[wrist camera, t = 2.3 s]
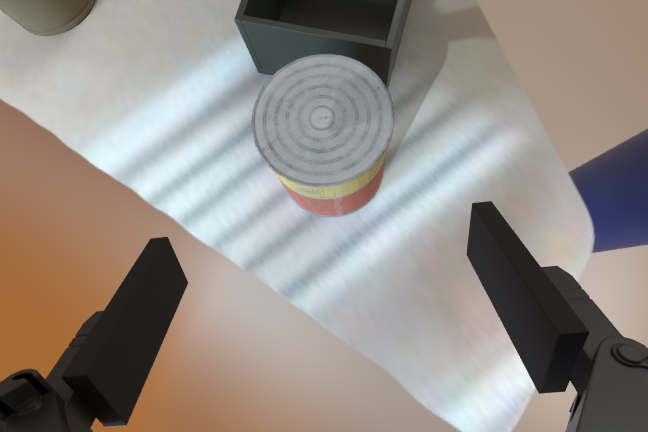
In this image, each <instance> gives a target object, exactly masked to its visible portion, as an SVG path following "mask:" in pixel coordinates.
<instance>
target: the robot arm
mask: <svg viewBox="0 0 648 432" xmlns="http://www.w3.org/2000/svg"><path fill="white" fill-rule="evenodd" d="M467 256H468V258H469V260H470V262H471V264H472V266H473V268H474V270H475V272H476V274H477V275H478V277H479V279H480V281H481V283H482V285H483V287H484V289H485V291H486V293H487V295H488V297H489V298H490V300H491V302H492V304H493V306H494V308H495V310H496V312H497V314H498V316H499V318H500V320H501V321H502V323H503V325H504V327H505V329H506V331H507V333H508V335H509V337H510V339H511V341H512V343H513V345H514V346H515V348H516V350H517V352H518V354H519V356H520V358H521V360H522V362H523V364H524V366H525V368H526V369H527V371H528V373H529V375H530V377H531V379H532V381H533V383H534V385H535V387H536V389H537V391H538V392H539V393H551V392H565V390H566V388H567V385H568V383H569V381H571V383H572V384H573V386H574V387H575V389H576V391H577V392H578V393H577V395H576V397H575V400H574V402H573V404H572V407H571V409H570V411H569V412H571V415H570V419H569V422H568V425H567V429H566V432H648V348H647V347H645V346H644V345H642V344H641V343H639V342H637V341H634V340H632V339H629V338H625V337H623V336H622V335H621V334H620V333H619V332H618V331H617V329H616V328H615V327H614V326H613V324H612V323H611V322H610V321H609V320H608V318H607V317H606V316H605V315H604V314H603V312H602V311H601V310H600V309H599V308H598V306H597V305H596V304H595V303H594V302H593V300H592V299H590V298H589V296H588V295H587V293H586V292H585V291H584V290H582V289H581V286H580V285H579V284H578V282H577V281H576V280H575V279H574V278H573V276H572V275H570V274H569V273H567V272H566V271H564V270H563V269H561V268H559V267H558V266H550V267H540V265H539V264H538V263H537V262H536V260H535V259H534V258H533V256H532V255H531V254H530V252H529V251H528V250H527V248H526V247H525V246H524V244H523V243H522V242H521V240H520V239H519V238H518V236H517V235H516V234H515V232H514V231H513V230H512V228H511V227H510V226H509V224H508V223H507V222H506V220H505V219H504V218H503V216H502V215H501V214H500V212H499V211H498V210H497V208H496V207H495V206H494V204H493V203H492V202H491V201H489V202H480V203H472V211H471V220H470V228H469V237H468V246H467ZM187 284H188V281H187V279H186V277H185V274H184V272H183V270H182V268H181V266H180V264H179V261H178V259H177V257H176V255H175V252H174V250H173V248H172V246H171V244H170V241H169V239H168V237H163V238H153V239H150V241H149V242H148V244H147V245H146V247H145V248H144V250H143V252H142V253H141V254H140V256H139V258H138V259H137V261H136V262H135V264H134V265H133V267H132V268H131V270H130V271H129V273H128V274H127V276H126V278H125V279H124V281H123V282H122V284H121V286H120V287H119V288H118V290H117V291H116V293H115V295H114V296H113V298H112V299H111V301H110V302H109V304H108V305H107V307H106V308H105V310H104V311H98V312H96V313H94V315H92V316H91V317H90V318H89V319H88V320H87V321H86V322H84V324H83V325H82V327H81V328H80V330H79V331H78V333H77V334H76V338H73V340H72V341H71V343H70V344H69V348H67V349H66V350H65V352H64V353H63V354H62V356H61V357H60V359H59V360H58V362H57V363H56V365H55V366H54V368H53V369H52V370H51V372H50V374H49V375H48V376H47V378H46V379H44V378H43V377H42V376H41V374H40V373H39V372H38V371H37V370H34V369H25V370H21V371H19V372H16V373H14V374H12V375H10V376H9V377H7V378H6V379H4V380H3V381H1V382H0V432H93V431H92V429H91V426H92V424H93V422H94V420H95V418H97V419H98V420H99V421H100V422H101V423H102V424H103V426H118V425H127V423H128V421H129V418H130V416H131V414H132V411H133V409H134V407H135V404H136V402H137V400H138V397H139V395H140V393H141V390H142V388H143V386H144V384H145V381H146V379H147V377H148V374H149V372H150V370H151V368H152V365H153V363H154V361H155V358H156V356H157V354H158V351H159V349H160V346H161V344H162V342H163V340H164V337H165V335H166V333H167V330H168V328H169V326H170V323H171V321H172V319H173V317H174V314H175V312H176V310H177V307H178V305H179V303H180V300H181V298H182V296H183V294H184V291H185V289H186V287H187Z"/></svg>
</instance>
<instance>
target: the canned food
mask: <svg viewBox="0 0 648 432" xmlns="http://www.w3.org/2000/svg"><path fill="white" fill-rule="evenodd" d="M393 127H394V108H393V103H392V99H391V96H390V94H389V92H388V90H387V88H386V86H385V84H384V83H383V81H382V80H381V79H380V78H379V76H378V75H377V74H376V73H375V72H374V71H372V70H371V69H370V68H369V67H367V66H366V65H364V64H362V63H361V62H359V61H357V60H354V59H352V58H349V57H346V56H341V55H335V54H317V55H311V56H306V57H303V58H300V59H298V60H295V61H293V62H291V63H289V64H287V65H286V66H284V67H282V68H281V69H280V70H278V71H277V72H276V73H275V74H274V75H273V76H272V77H271V78H270V79H269V80H268V81H267V82H266V84H265V85H264V86H263V88H262V90H261V91H260V93H259V95H258V97H257V100H256V102H255V105H254V109H253V114H252V132H253V138H254V141H255V144H256V147H257V149H258V151H259V153H260V155H261V156H262V158H263V159H264V161H265V162H266V163H267V165H268V166H269V167H270V168H271V169H272V170H273V171H274V173H275V174H276V176H277V177H278V178H279V180H280V181H281V183H282V184H283V185H284V187H285V188H286V190H287V192H288V194H289V195H290V197H291V198H292V199H293V200H294V201H295V202H296V203H297V204H298V205H299V206H300V207H301V208H303V209H304V210H306V211H308V212H310V213H313V214H315V215H319V216H324V217H339V216H344V215H347V214H350V213H353V212H355V211H357V210H359V209H360V208H362V207H363V206H364V205H366V204H367V203H368V202H369V201H370V200H371V199H372V198H373V196H374V195H375V193H376V192H377V190H378V188H379V186H380V184H381V181H382V177H383V170H384V163H385V159H386V154H387V150H388V145H389V142H390V139H391V136H392V132H393Z"/></svg>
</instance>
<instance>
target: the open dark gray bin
mask: <svg viewBox="0 0 648 432" xmlns="http://www.w3.org/2000/svg"><path fill="white" fill-rule="evenodd" d="M410 3H411V0H241V3H240V5H239V8H238V11H237V14H236V17H235V22H236V24H237V26H238V29H239V31H240V33H241V35H242V37H243V39H244V42H245V44H246V46H247V48H248V50H249V53H250V55H251V57H252V59H253V61H254V63H255V66H256V68H257V70H258V72H259V73H264V74H269V75H274V74H275V73H276V72H277V71H278V70H280V69H281V68H282V67H284V66H286V65H287V64H289V63H291V62H293V61H295V60H298V59H300V58H303V57H306V56H311V55H317V54H335V55H341V56H346V57H349V58H352V59H354V60H357V61H359V62H361V63H362V64H364V65H366V66H367V67H369V68H370V69H371V70H372V71H374V72H375V73H376V74H377V75H378V76H379V78H380V79H381V80H382V81H383V83H384V84H385V86H386V88H387V89H388V86H389V82H390V78H391V74H392V71H393V67H394V63H395V59H396V56H397V52H398V48H399V45H400V41H401V37H402V33H403V30H404V26H405V22H406V18H407V15H408V11H409V7H410Z"/></svg>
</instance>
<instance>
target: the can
mask: <svg viewBox="0 0 648 432" xmlns="http://www.w3.org/2000/svg"><path fill="white" fill-rule="evenodd" d="M94 2H95V0H0V10H1V11H3V12H4V13H5V14H7V15H8V16H9V17H10V18H12V19H13V20H14V21H16V22H17V23H19V24H20V25H21V26H22V27H23V28H24V29H26V30H27V31H29V32H31V33H34V34H37V35H43V36H50V35H56V34H60V33H63V32H66V31H68V30H70V29H72V28H73V27H75V26H76V25H77V24H79V23H80V22H81V21H82V20H83V19H84V18H85V17H86V16H87V15H88V13H89V12H90V10H91V8H92V6H93V4H94Z"/></svg>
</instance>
